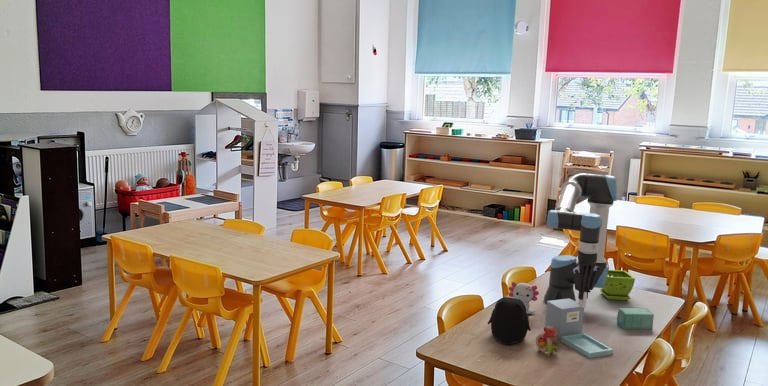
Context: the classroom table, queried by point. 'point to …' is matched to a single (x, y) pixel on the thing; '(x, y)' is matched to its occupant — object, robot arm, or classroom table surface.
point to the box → (635, 318)
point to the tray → (587, 345)
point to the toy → (524, 294)
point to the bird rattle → (546, 341)
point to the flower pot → (618, 285)
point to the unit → (564, 316)
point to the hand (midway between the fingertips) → (582, 306)
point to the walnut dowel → (554, 340)
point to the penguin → (509, 320)
